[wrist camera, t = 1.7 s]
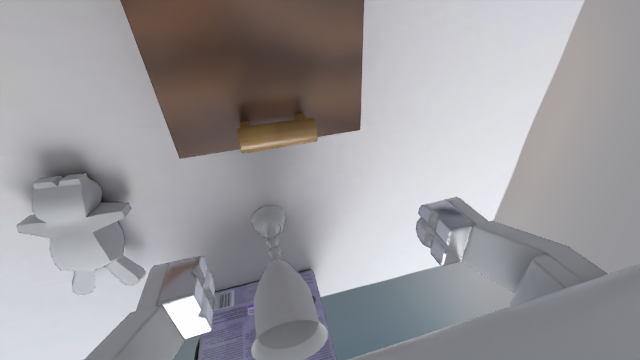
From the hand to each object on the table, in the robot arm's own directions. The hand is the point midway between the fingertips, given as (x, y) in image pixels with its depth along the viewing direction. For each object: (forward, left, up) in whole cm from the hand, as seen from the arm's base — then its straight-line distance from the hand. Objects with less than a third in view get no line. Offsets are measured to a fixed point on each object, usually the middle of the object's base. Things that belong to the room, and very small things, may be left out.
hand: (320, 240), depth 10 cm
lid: (0, +5, -15) cm, 16 cm away
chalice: (-2, -18, -24) cm, 30 cm away
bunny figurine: (-22, -13, -24) cm, 35 cm away
